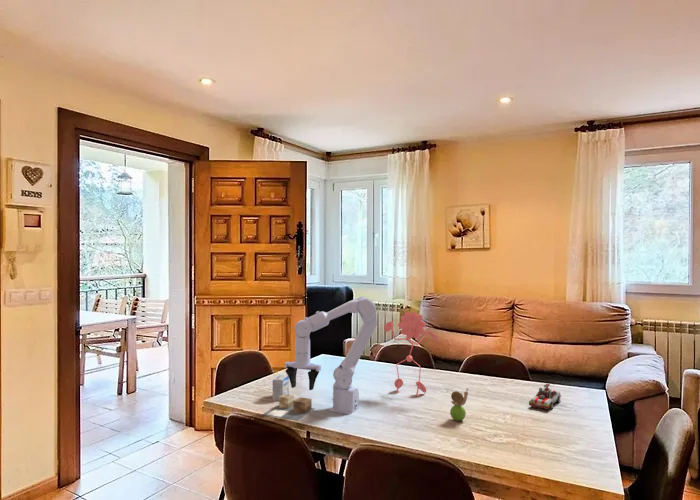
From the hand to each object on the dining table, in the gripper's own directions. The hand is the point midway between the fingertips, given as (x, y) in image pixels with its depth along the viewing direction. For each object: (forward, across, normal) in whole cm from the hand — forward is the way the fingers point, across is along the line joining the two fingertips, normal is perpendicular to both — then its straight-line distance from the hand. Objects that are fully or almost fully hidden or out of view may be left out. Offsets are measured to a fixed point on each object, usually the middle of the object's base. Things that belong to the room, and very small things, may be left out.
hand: (302, 388), depth 173 cm
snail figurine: (+9, -56, -14) cm, 59 cm away
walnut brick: (+8, 0, 0) cm, 8 cm away
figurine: (+9, -32, -41) cm, 53 cm away
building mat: (+9, +4, +3) cm, 10 cm away
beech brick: (+8, +8, -2) cm, 12 cm away
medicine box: (+9, +16, -10) cm, 21 cm away
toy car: (+9, -85, -45) cm, 97 cm away
